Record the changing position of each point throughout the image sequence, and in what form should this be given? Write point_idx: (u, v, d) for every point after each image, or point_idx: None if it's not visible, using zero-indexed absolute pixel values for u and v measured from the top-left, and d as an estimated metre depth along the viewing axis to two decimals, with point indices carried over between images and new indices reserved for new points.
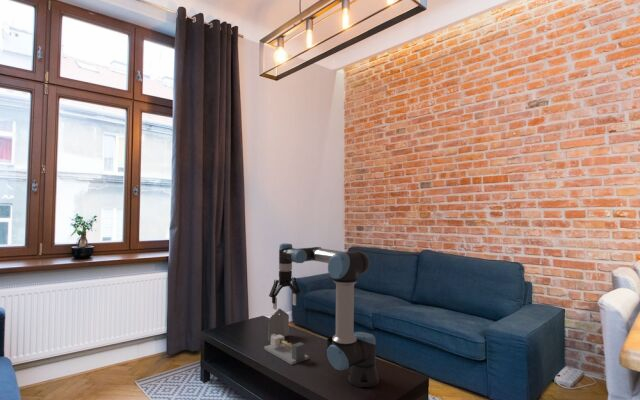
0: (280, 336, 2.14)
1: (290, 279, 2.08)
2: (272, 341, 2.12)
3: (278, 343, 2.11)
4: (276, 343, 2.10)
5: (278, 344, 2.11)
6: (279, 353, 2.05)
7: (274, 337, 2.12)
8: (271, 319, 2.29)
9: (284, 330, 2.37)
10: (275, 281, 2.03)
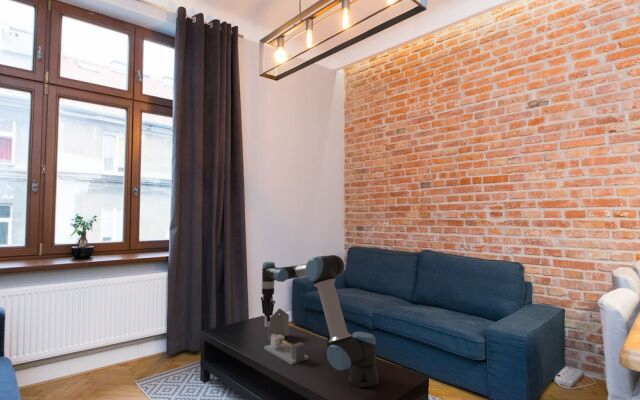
0: (280, 336, 2.14)
1: (269, 297, 2.15)
2: (272, 341, 2.12)
3: (278, 343, 2.11)
4: (276, 343, 2.10)
5: (278, 344, 2.11)
6: (279, 353, 2.05)
7: (274, 337, 2.12)
8: (271, 319, 2.30)
9: (284, 330, 2.37)
10: None
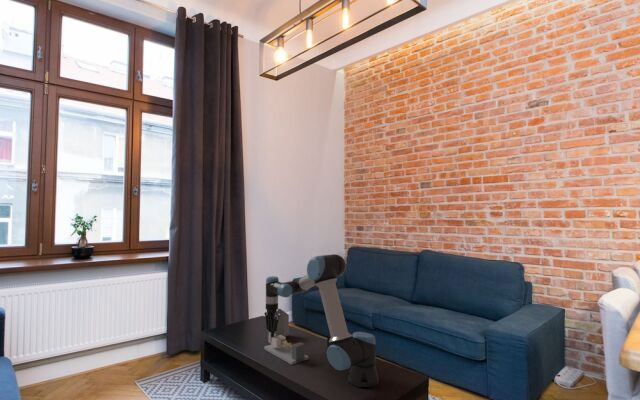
0: (281, 337, 2.13)
1: (273, 313, 2.12)
2: (273, 342, 2.11)
3: (279, 344, 2.10)
4: (277, 344, 2.09)
5: (279, 345, 2.10)
6: (279, 353, 2.05)
7: (275, 338, 2.12)
8: None
9: (284, 330, 2.37)
10: None
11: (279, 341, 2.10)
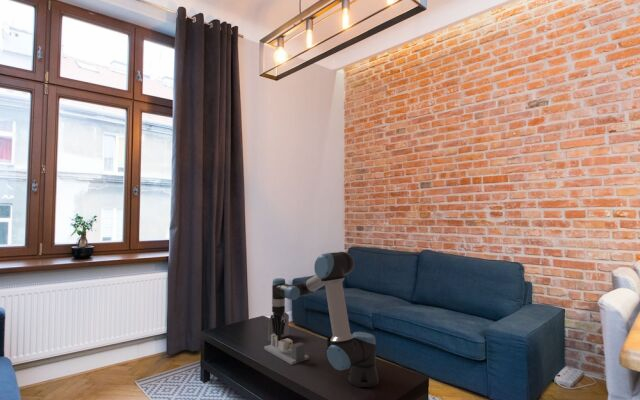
0: (288, 340, 2.08)
1: (280, 316, 2.06)
2: (279, 345, 2.06)
3: (286, 347, 2.05)
4: (284, 347, 2.04)
5: (286, 348, 2.05)
6: (279, 353, 2.05)
7: (282, 341, 2.06)
8: (271, 319, 2.30)
9: (284, 330, 2.37)
10: None
11: (286, 345, 2.05)
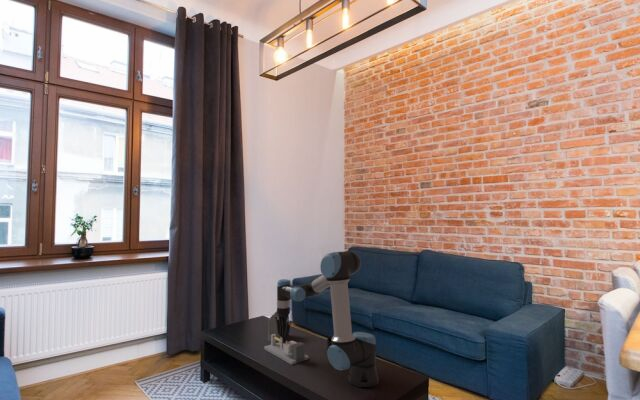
0: (293, 342, 2.04)
1: (285, 318, 2.03)
2: (284, 348, 2.02)
3: (291, 350, 2.01)
4: (289, 350, 2.00)
5: (291, 351, 2.01)
6: (279, 353, 2.05)
7: (287, 344, 2.03)
8: (271, 319, 2.29)
9: None
10: None
11: (291, 347, 2.01)
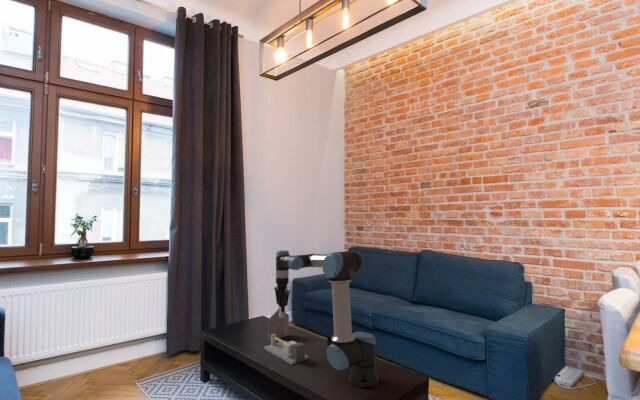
0: (293, 342, 2.04)
1: (283, 287, 2.07)
2: (284, 348, 2.02)
3: (291, 350, 2.01)
4: (289, 350, 2.00)
5: (291, 351, 2.01)
6: (279, 353, 2.05)
7: (287, 344, 2.03)
8: (271, 319, 2.29)
9: (284, 330, 2.37)
10: None
11: (291, 347, 2.01)
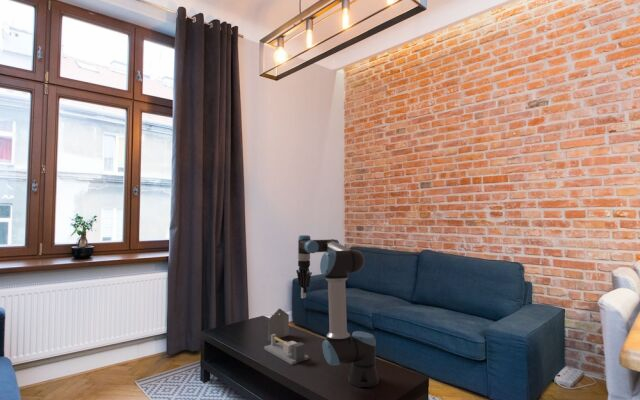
0: (293, 342, 2.04)
1: (305, 269, 2.20)
2: (284, 348, 2.02)
3: (291, 350, 2.01)
4: (289, 350, 2.00)
5: (291, 351, 2.01)
6: (279, 353, 2.05)
7: (287, 344, 2.03)
8: (271, 319, 2.29)
9: (284, 330, 2.37)
10: None
11: (291, 347, 2.01)
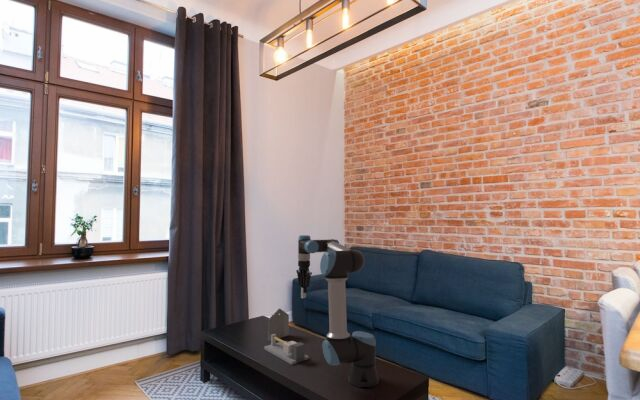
0: (293, 342, 2.04)
1: (305, 269, 2.20)
2: (284, 348, 2.02)
3: (291, 350, 2.01)
4: (289, 350, 2.00)
5: (291, 351, 2.01)
6: (279, 353, 2.05)
7: (287, 344, 2.03)
8: (271, 319, 2.30)
9: (284, 330, 2.37)
10: None
11: (291, 347, 2.01)
